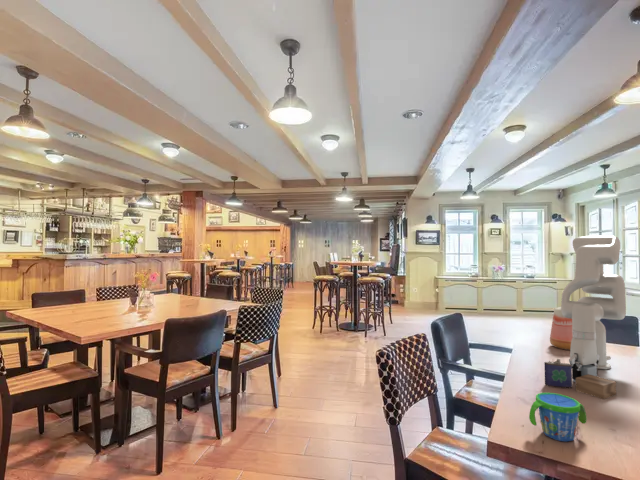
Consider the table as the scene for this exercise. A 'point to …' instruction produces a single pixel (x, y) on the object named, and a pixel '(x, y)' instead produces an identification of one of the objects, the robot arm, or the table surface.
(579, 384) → the block
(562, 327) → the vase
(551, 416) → the snack cup
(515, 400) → the table surface
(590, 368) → the pale blue cube
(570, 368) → the clover trinket box
